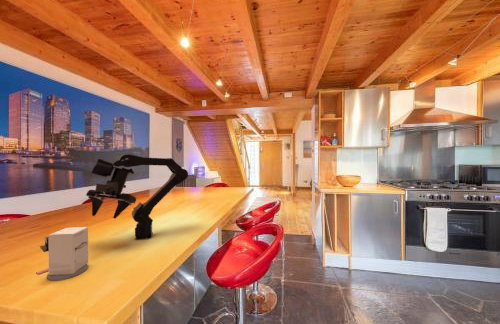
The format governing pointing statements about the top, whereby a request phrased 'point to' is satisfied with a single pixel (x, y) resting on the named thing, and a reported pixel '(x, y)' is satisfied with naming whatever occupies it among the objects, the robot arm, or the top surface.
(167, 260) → the top surface
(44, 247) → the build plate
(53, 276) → the disc
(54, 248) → the supplement box
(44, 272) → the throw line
